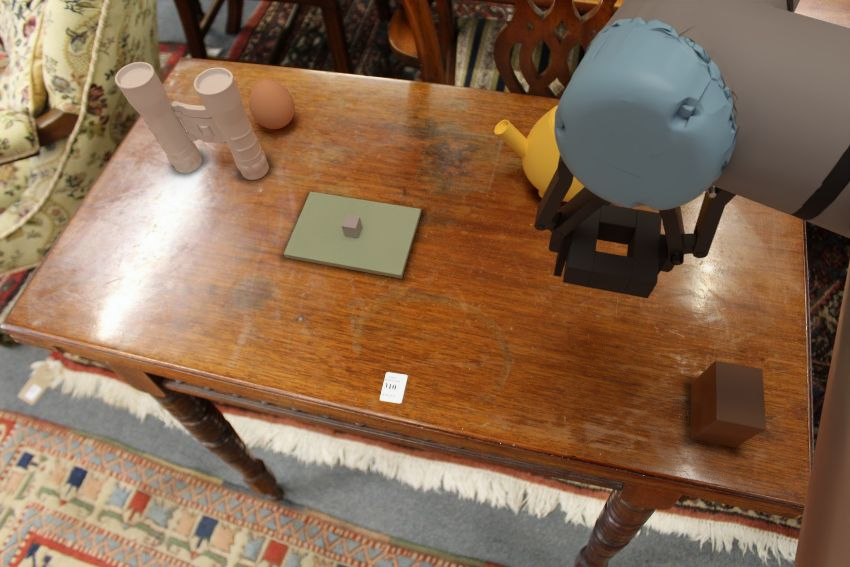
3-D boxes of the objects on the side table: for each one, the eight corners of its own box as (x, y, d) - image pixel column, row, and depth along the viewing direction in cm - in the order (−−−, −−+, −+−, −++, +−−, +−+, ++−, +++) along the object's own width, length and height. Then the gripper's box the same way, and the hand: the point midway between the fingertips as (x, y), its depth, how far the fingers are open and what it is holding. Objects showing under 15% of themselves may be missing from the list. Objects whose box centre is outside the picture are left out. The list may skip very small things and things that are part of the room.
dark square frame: (647, 298, 53) (657, 283, 50) (562, 282, 54) (567, 266, 51) (652, 230, 56) (662, 212, 54) (572, 217, 58) (578, 199, 55)
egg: (306, 127, 96) (293, 87, 89) (267, 145, 94) (251, 106, 87) (289, 102, 99) (275, 62, 92) (251, 119, 98) (234, 79, 90)
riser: (734, 448, 66) (766, 429, 59) (689, 438, 67) (716, 419, 60) (732, 392, 69) (762, 368, 62) (690, 384, 70) (715, 360, 63)
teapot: (488, 212, 85) (493, 148, 73) (493, 137, 92) (498, 68, 81) (623, 220, 83) (650, 155, 71) (617, 142, 90) (641, 72, 79)
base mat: (401, 278, 80) (399, 266, 77) (285, 257, 83) (278, 244, 80) (421, 212, 85) (420, 198, 82) (311, 195, 88) (306, 180, 85)
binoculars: (275, 158, 93) (238, 68, 77) (265, 183, 90) (225, 95, 74) (179, 149, 95) (124, 60, 79) (167, 173, 92) (107, 86, 77)
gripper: (834, 86, 38) (706, 261, 58) (531, 50, 42) (508, 226, 61) (845, 168, 35) (705, 325, 54) (513, 121, 38) (495, 284, 58)
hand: (601, 273), depth 58 cm, fingers closed on dark square frame, 8 cm apart
